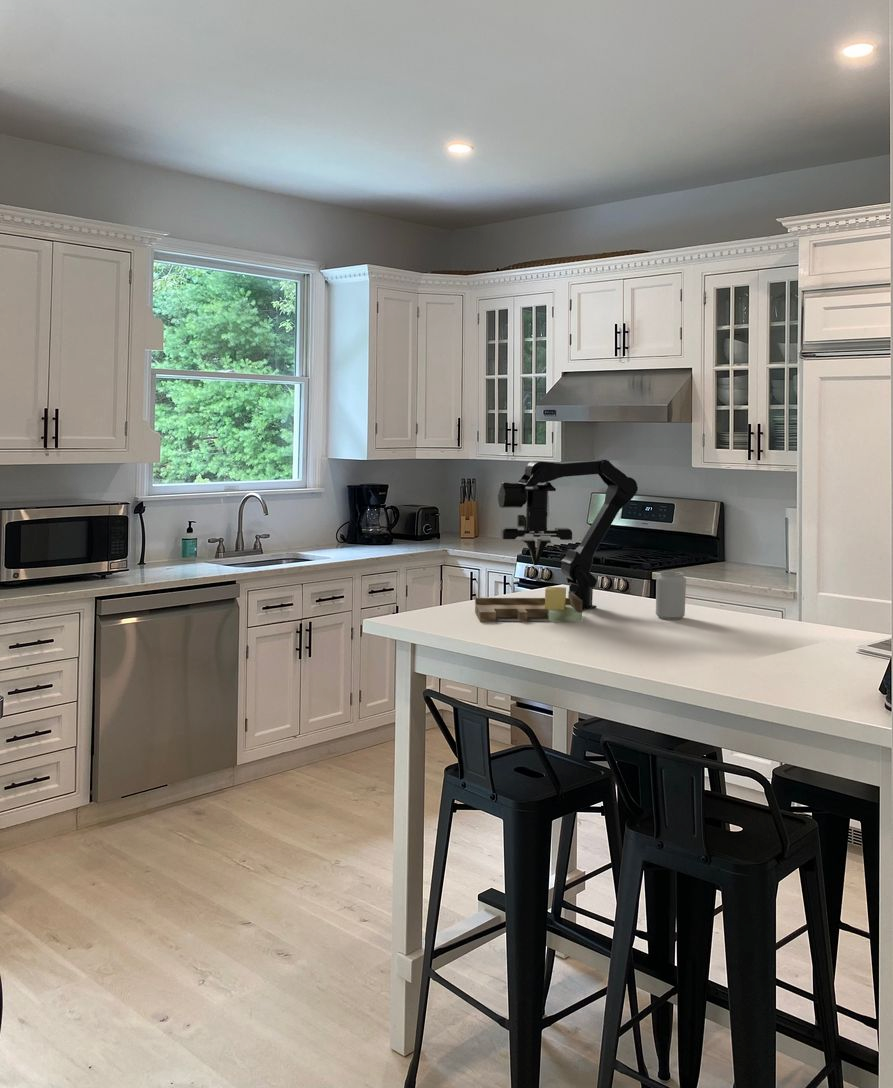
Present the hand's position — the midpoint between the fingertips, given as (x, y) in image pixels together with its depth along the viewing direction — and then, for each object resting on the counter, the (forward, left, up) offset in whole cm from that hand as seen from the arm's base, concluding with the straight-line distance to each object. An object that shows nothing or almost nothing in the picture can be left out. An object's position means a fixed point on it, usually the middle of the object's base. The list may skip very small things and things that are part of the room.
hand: (535, 565), depth 265 cm
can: (-20, +30, -12) cm, 38 cm away
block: (+4, +12, -10) cm, 16 cm away
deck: (+10, +7, -12) cm, 17 cm away
